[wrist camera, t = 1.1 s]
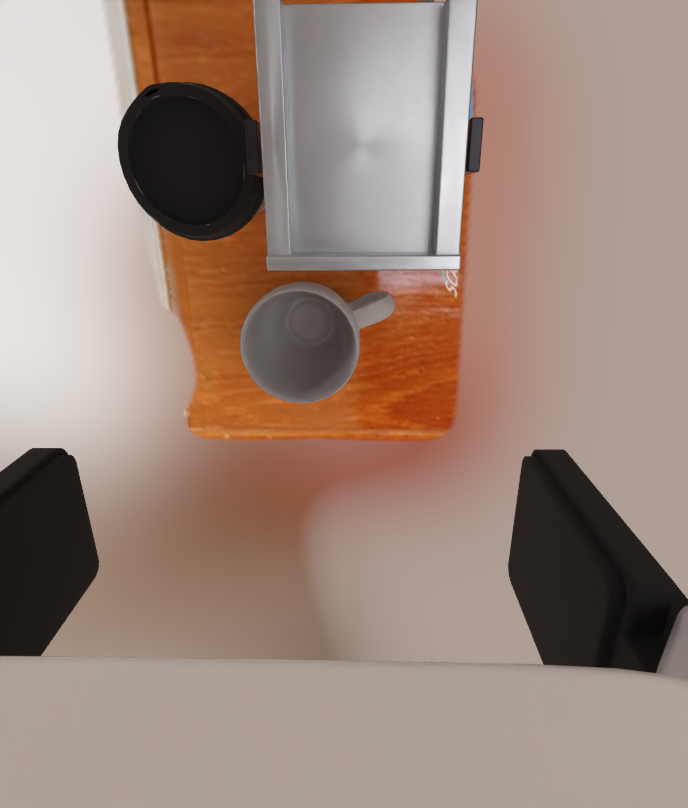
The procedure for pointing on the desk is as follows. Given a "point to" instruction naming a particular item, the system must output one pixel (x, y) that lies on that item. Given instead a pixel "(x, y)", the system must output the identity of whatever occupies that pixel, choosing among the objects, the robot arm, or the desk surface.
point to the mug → (307, 339)
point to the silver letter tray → (364, 132)
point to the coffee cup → (190, 160)
